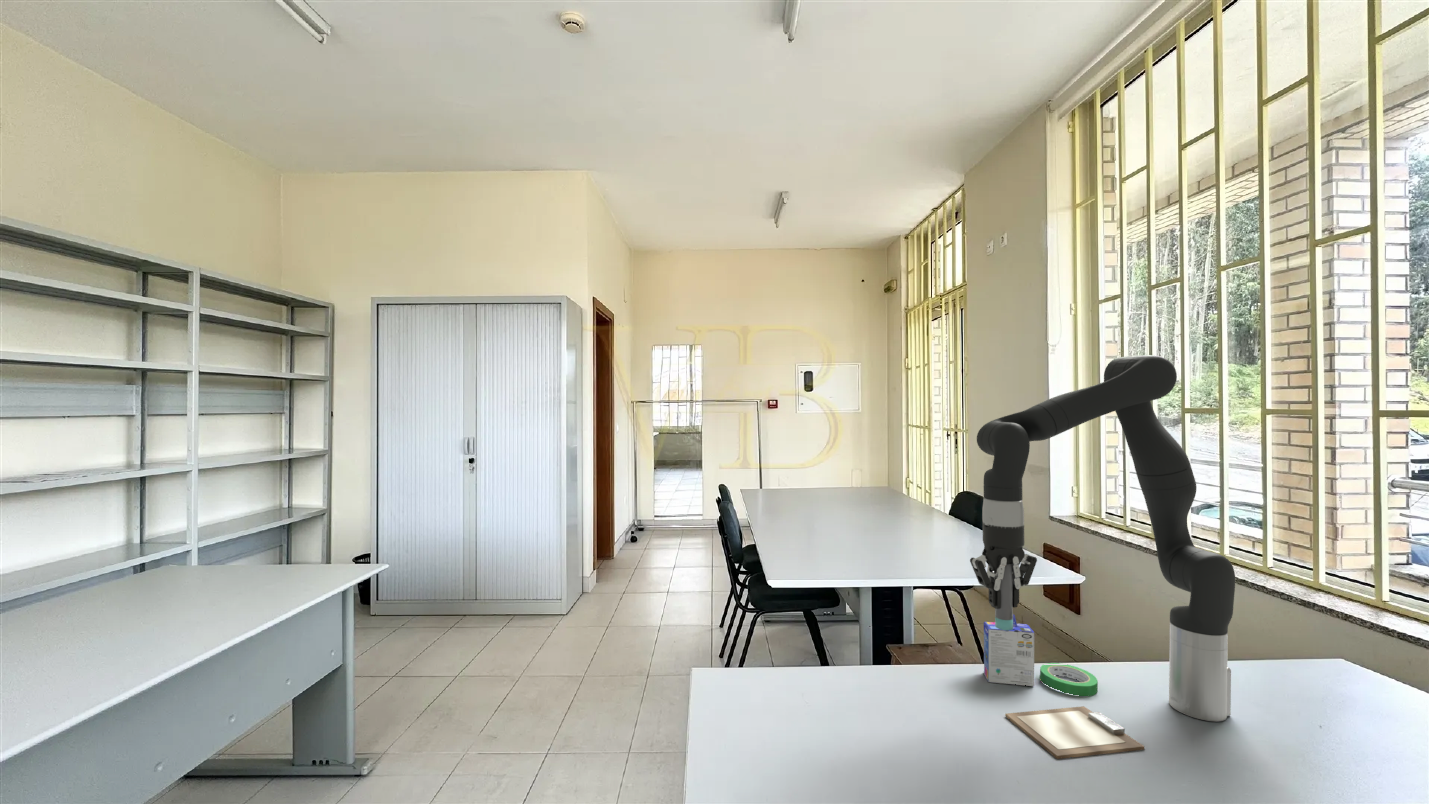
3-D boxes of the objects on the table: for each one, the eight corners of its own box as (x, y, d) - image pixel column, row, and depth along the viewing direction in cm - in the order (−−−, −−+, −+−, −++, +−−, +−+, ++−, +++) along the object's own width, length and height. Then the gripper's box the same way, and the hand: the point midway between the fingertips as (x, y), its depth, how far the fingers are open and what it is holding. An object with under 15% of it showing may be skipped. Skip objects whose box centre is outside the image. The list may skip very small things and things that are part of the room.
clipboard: (1083, 709, 120) (1083, 701, 120) (1144, 749, 106) (1144, 740, 106) (1005, 716, 117) (1005, 708, 117) (1057, 759, 103) (1057, 750, 103)
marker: (1006, 623, 119) (1005, 560, 119) (1016, 629, 116) (1015, 564, 115) (991, 624, 118) (991, 560, 118) (1002, 630, 115) (1001, 565, 115)
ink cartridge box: (1027, 676, 135) (1028, 613, 135) (1036, 687, 129) (1036, 622, 129) (982, 671, 137) (982, 610, 136) (988, 683, 131) (988, 619, 131)
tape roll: (1093, 679, 134) (1093, 668, 134) (1101, 702, 124) (1102, 690, 124) (1038, 670, 138) (1038, 659, 138) (1042, 691, 128) (1042, 679, 128)
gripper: (1021, 515, 122) (1022, 598, 122) (960, 519, 119) (960, 602, 119) (1048, 523, 114) (1048, 611, 114) (982, 527, 112) (983, 616, 112)
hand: (1003, 606), depth 117 cm, fingers closed on marker, 3 cm apart
